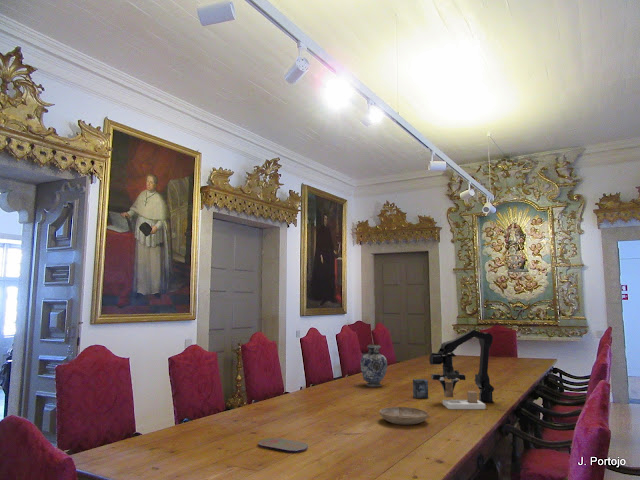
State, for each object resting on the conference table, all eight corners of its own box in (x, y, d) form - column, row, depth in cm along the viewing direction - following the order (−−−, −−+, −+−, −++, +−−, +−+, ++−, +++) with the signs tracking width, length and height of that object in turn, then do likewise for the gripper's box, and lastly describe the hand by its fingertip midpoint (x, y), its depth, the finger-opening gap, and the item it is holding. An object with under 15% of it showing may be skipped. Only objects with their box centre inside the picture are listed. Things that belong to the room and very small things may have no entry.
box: (416, 398, 282) (415, 380, 284) (412, 396, 288) (412, 378, 289) (428, 398, 283) (428, 380, 285) (425, 396, 289) (424, 378, 290)
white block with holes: (477, 404, 266) (477, 389, 267) (485, 409, 254) (484, 393, 255) (442, 404, 266) (442, 389, 267) (449, 409, 254) (448, 393, 255)
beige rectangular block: (451, 395, 273) (450, 381, 274) (453, 397, 269) (452, 383, 270) (444, 395, 273) (443, 381, 274) (446, 397, 269) (445, 383, 270)
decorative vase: (357, 382, 335) (358, 343, 339) (383, 382, 337) (383, 343, 341) (363, 388, 314) (364, 346, 318) (390, 388, 316) (390, 346, 320)
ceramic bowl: (425, 430, 212) (425, 418, 212) (374, 425, 220) (374, 414, 220) (431, 418, 233) (431, 408, 234) (385, 414, 241) (385, 404, 242)
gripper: (435, 366, 266) (436, 394, 263) (468, 366, 266) (469, 394, 264) (430, 363, 277) (431, 391, 274) (461, 363, 277) (462, 391, 275)
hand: (448, 392), depth 272 cm, fingers closed on beige rectangular block, 4 cm apart
